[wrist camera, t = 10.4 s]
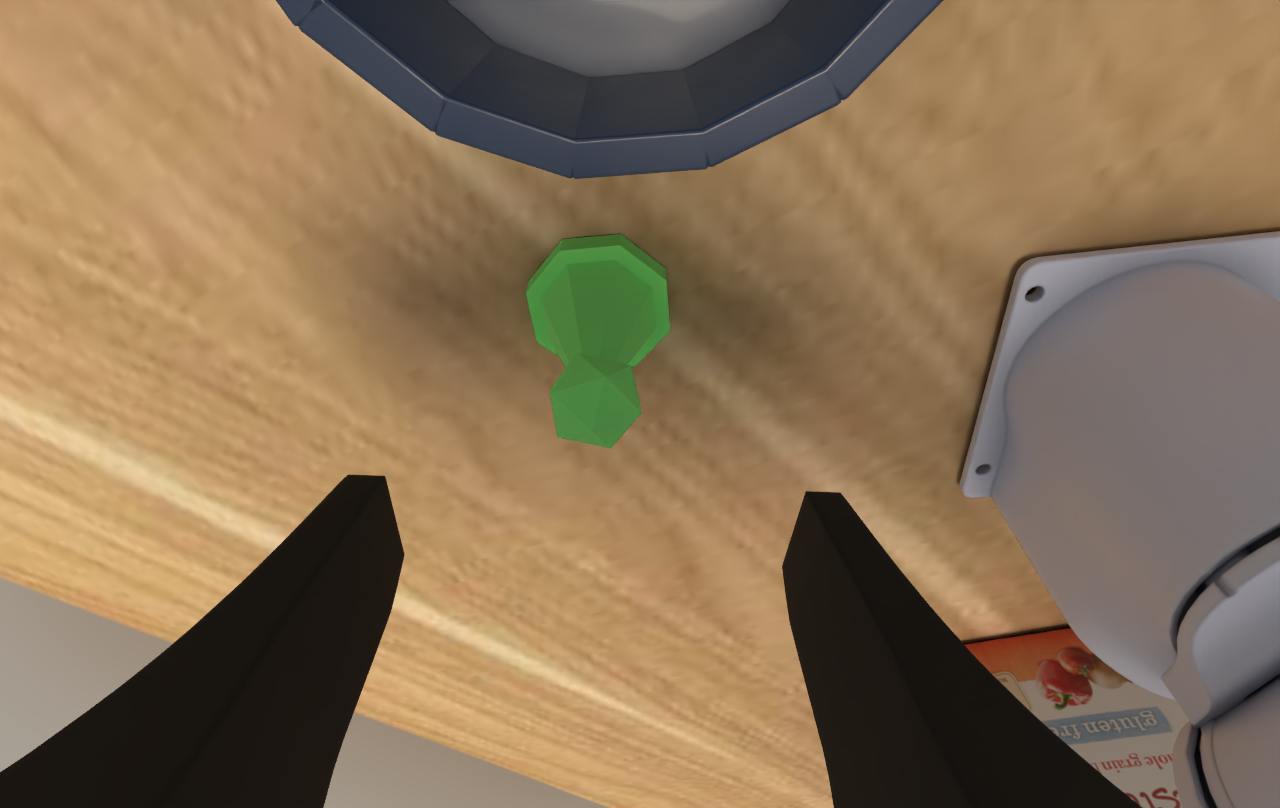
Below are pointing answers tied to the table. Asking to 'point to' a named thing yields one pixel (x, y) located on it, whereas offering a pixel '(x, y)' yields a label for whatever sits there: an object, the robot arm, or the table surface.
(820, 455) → the table surface
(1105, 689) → the cracker box
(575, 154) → the pan
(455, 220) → the table surface
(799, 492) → the table surface
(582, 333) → the game piece
